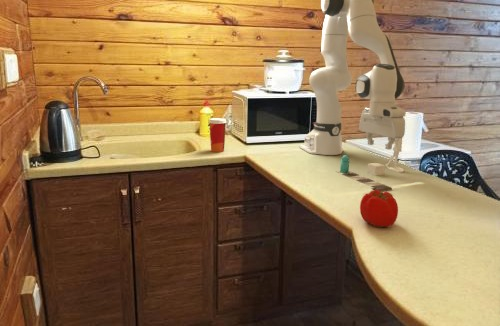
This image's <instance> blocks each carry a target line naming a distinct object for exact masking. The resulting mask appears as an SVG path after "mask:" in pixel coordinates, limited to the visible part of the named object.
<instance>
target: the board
mask: <svg viewBox="0 0 500 326" xmlns="http://www.w3.org/2000/svg"><path fill="white" fill-rule="evenodd" d="M335 173H337V174H340V175H342V176H345V177H348V178H349V179H352V180H355V181H357V182H358V183H362V184H365V185H366V186H369V187H371V191H373V190H378V191H381V192H388V191H392V190H393V188H392V187H391V186H388V185H386V184H383V183H381V182H379V181H376V180H374V179H371V178H368V177H365V176H363V175H360V174H358V173H356V172H352V171H350V170H349V173H341V172H340V170H337V171H335Z"/></svg>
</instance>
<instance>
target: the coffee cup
mask: <svg viewBox="0 0 500 326" xmlns="http://www.w3.org/2000/svg"><path fill="white" fill-rule="evenodd" d="M226 123H227V120H226V118H222V117H221V118H220V117H213V118H209V121H208V124H209V140H210V151H211V152H212V153H222V152H224V151H225V141H226V140H225V139H226V125H227V124H226Z"/></svg>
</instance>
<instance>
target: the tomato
mask: <svg viewBox="0 0 500 326" xmlns="http://www.w3.org/2000/svg"><path fill="white" fill-rule="evenodd" d="M359 210H360V211H359V212H360V215H361V218H362V219H363V221H365V222H366V223H368V224H369V225H370V224H371V225H372V226H374V227H376V228H377V227H378V228H380V227H383V228H388V227H391V226H393V225H394V223H395V222H396V221H397V218H398V215H399V206H398V203H397V200H396V198H395V197H394V195H393V194H392V193H390V191H389V192H388V191H378V190H370V191H369V192H367V193H365V194H364V195H363V196H362V198H361V200H360V206H359Z"/></svg>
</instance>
